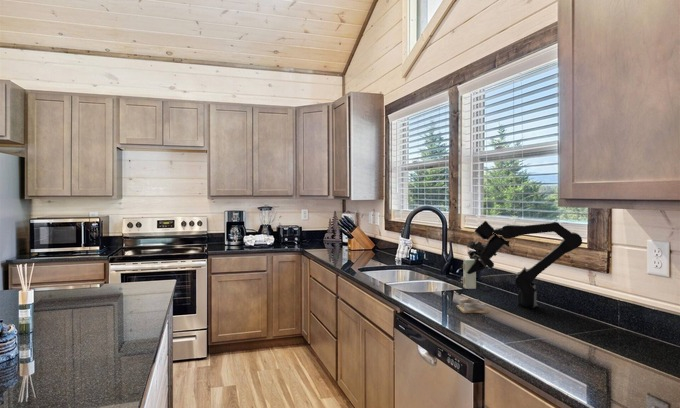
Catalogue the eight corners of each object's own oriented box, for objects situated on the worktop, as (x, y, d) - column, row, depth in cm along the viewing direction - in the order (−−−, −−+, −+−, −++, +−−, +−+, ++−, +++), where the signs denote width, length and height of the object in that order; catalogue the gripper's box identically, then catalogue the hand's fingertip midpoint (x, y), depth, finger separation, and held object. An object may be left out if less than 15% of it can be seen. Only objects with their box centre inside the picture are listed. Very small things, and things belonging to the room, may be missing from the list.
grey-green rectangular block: (473, 286, 192) (473, 258, 191) (475, 288, 188) (476, 260, 188) (461, 286, 192) (461, 258, 191) (464, 288, 188) (464, 260, 188)
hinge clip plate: (480, 306, 182) (480, 299, 182) (487, 312, 173) (488, 304, 173) (456, 306, 182) (456, 299, 182) (462, 312, 173) (463, 304, 173)
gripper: (472, 232, 199) (447, 256, 199) (486, 236, 180) (459, 263, 180) (489, 249, 199) (464, 273, 199) (505, 255, 180) (478, 281, 180)
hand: (466, 272), depth 190 cm, fingers closed on grey-green rectangular block, 4 cm apart
